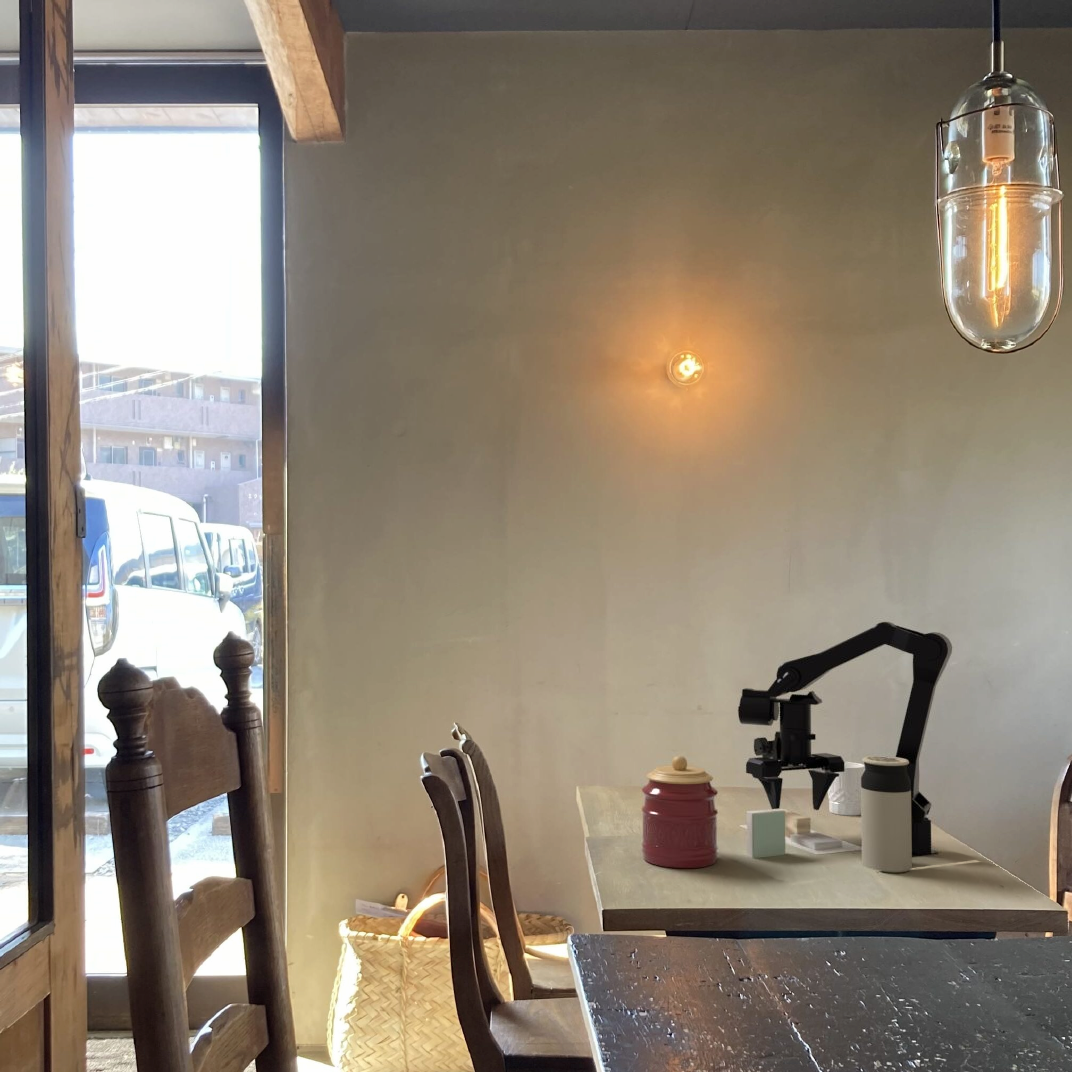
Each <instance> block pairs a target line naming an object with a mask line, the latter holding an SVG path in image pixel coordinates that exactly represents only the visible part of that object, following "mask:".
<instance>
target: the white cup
mask: <svg viewBox="0 0 1072 1072" xmlns="http://www.w3.org/2000/svg"><path fill="white" fill-rule="evenodd" d="M844 762H845V771H844V772H835V773H839V777H836V778H835V780H834V781H833V783H832V785H831V786H830V788H829V790H828V792H827V799H828V808H829V810H828V811H829V812H830V813H831V814H834V815H838V816H840V815H841V816H849V817H850V816H853V817H854V816H861V777H862V775H863V773H864V771H865V765H864V763H858V762H854V761H844Z"/></svg>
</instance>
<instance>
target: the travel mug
mask: <svg viewBox="0 0 1072 1072" xmlns="http://www.w3.org/2000/svg"><path fill="white" fill-rule="evenodd" d="M861 760H862V762H863V765H865V771H864V773H863V775H862V777H861V815H860V816H861V818H860V819H861V847H862V850H861V865H862V866H863V867H866V868H868V869H872V870H876V871H879V873H884V874H885V873H886V874H903V873H905V872H908V871H910V870H912V869H913V860H912V859H913V857H912V835H911V780H910V778H909V776H908V774H907V772H906V771H907V765H908V764H909V761H908V760H907V759H903V758H898V757H895V756H887V755H868V756H864V757H863V758H862V759H861Z"/></svg>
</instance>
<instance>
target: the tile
mask: <svg viewBox="0 0 1072 1072" xmlns="http://www.w3.org/2000/svg"><path fill="white" fill-rule="evenodd" d="M783 809H784V808H779V809H772V808H771V809H760V810H748V811H746V825H747V829H746V856H747V857H749V858H751V859H759V858H766V857H775V856H776V857H777V856H785V855H786V843H785V810H786V809H785V810H783Z"/></svg>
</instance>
